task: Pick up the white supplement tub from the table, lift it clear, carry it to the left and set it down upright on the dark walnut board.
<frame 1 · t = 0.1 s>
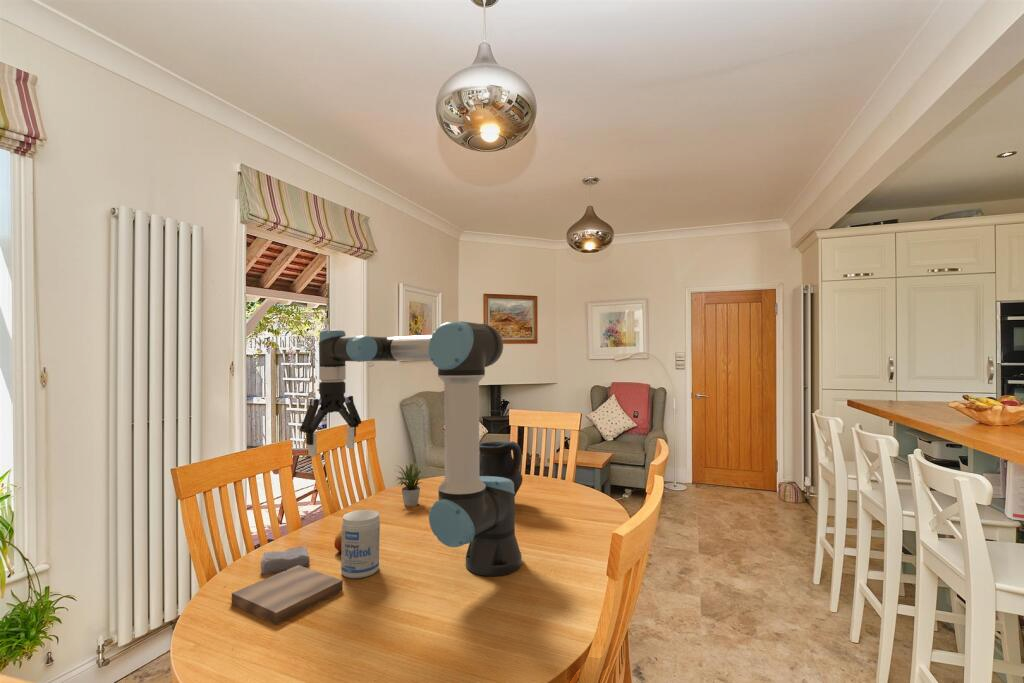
hand: (332, 451, 144), 28 cm above the table, tool pointing down, fingers open, 13 cm apart
stone block: (285, 565, 131), on the table
supplement tub: (360, 572, 125), on the table
house plant: (409, 504, 184), on the table
fruit: (349, 551, 139), on the table
walnut board: (288, 597, 112), on the table
pitcher: (497, 507, 178), on the table
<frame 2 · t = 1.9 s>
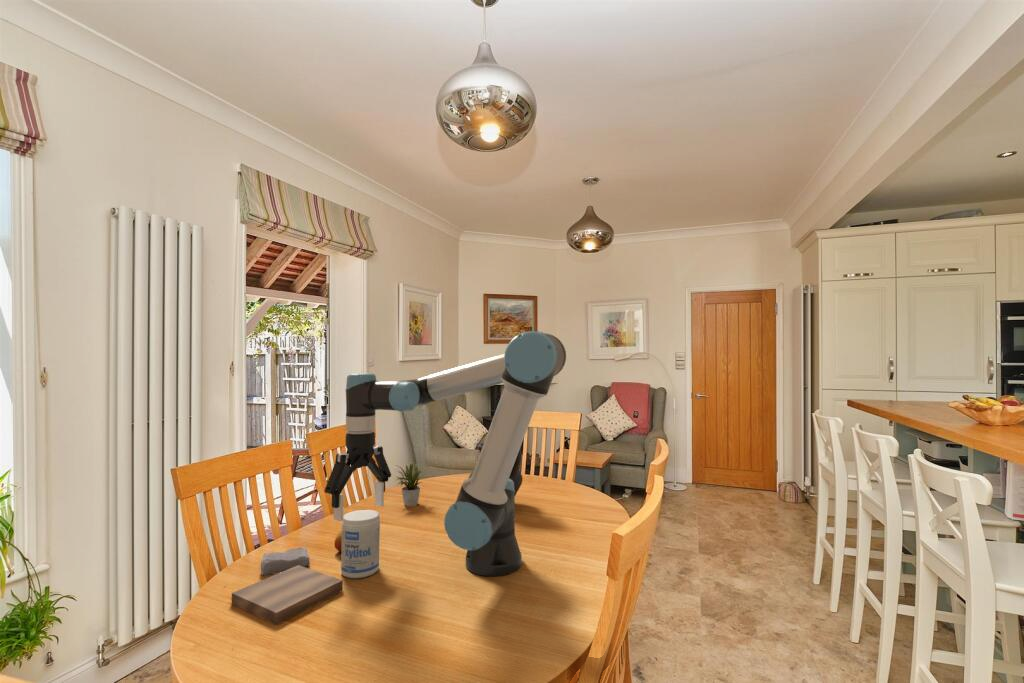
hand: (359, 512, 126), 15 cm above the table, tool pointing down, fingers open, 13 cm apart
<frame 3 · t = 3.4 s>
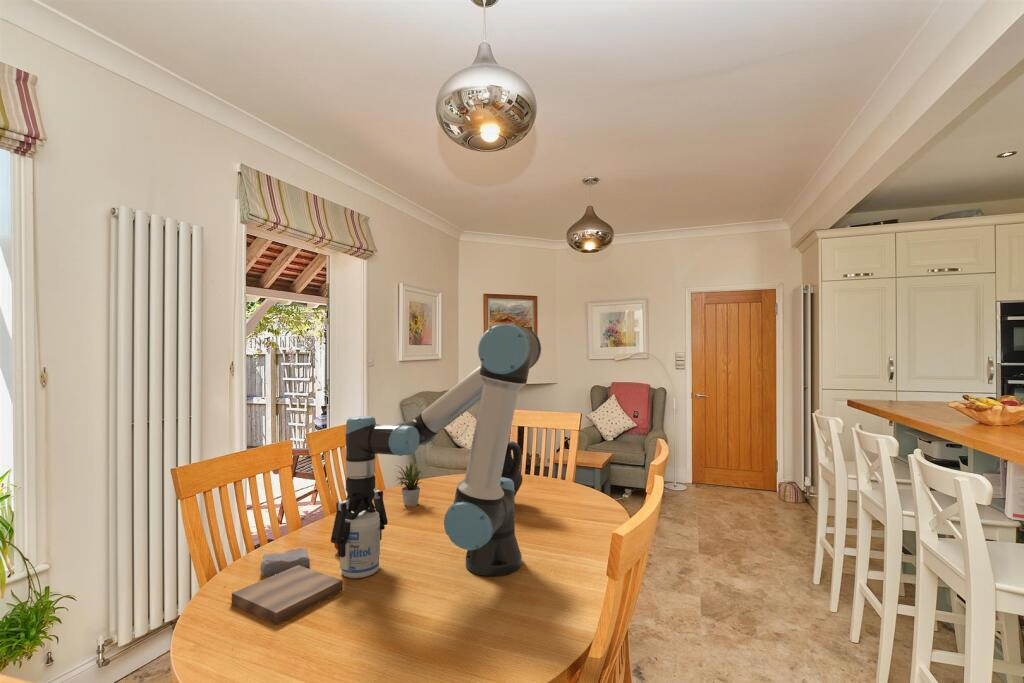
hand: (360, 561, 125), 3 cm above the table, tool pointing down, fingers closed on supplement tub, 10 cm apart
supplement tub: (360, 572, 125), on the table, touching gripper
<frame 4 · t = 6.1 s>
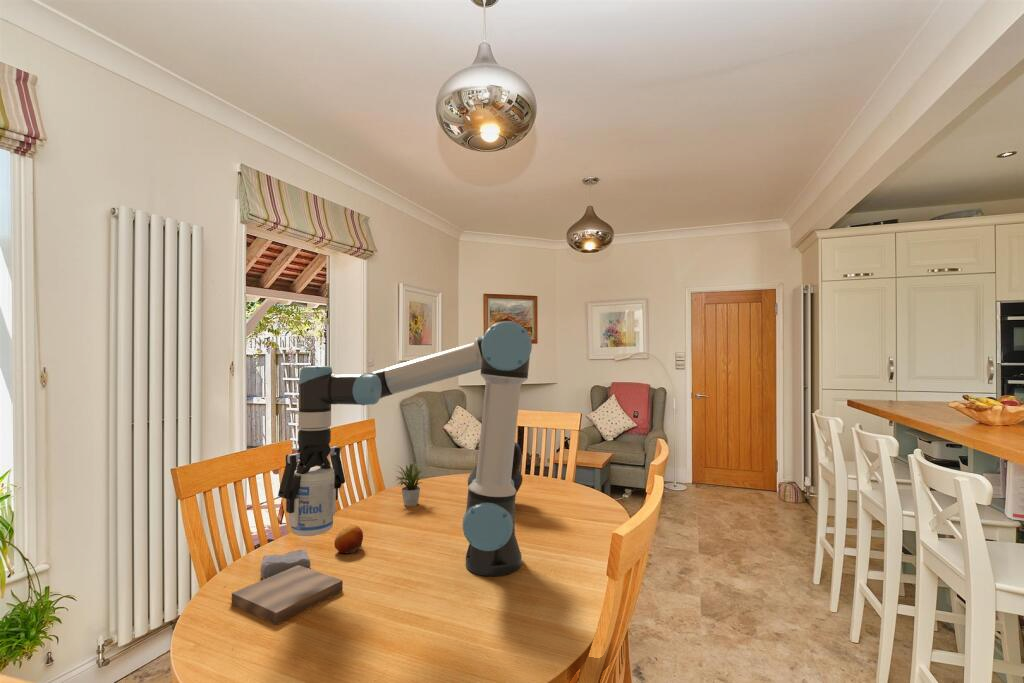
hand: (312, 519, 117), 16 cm above the table, tool pointing down, fingers closed on supplement tub, 10 cm apart
stone block: (285, 569, 128), on the table
supplement tub: (312, 531, 117), point 14 cm above the table, touching gripper
everything else where it was.
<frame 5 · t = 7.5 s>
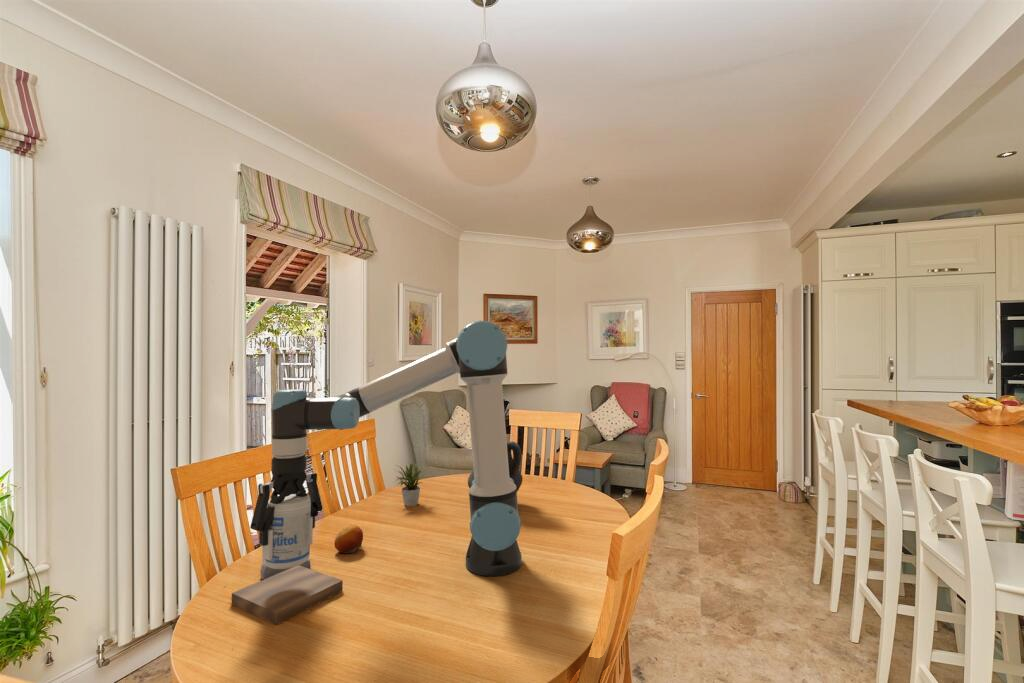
hand: (288, 550, 112), 11 cm above the table, tool pointing down, fingers closed on supplement tub, 10 cm apart
supplement tub: (288, 562, 112), point 8 cm above the table, touching gripper
when the fingers open (7 cm above the table, at t = 8.7 s): supplement tub drops 1 cm, resting on walnut board.
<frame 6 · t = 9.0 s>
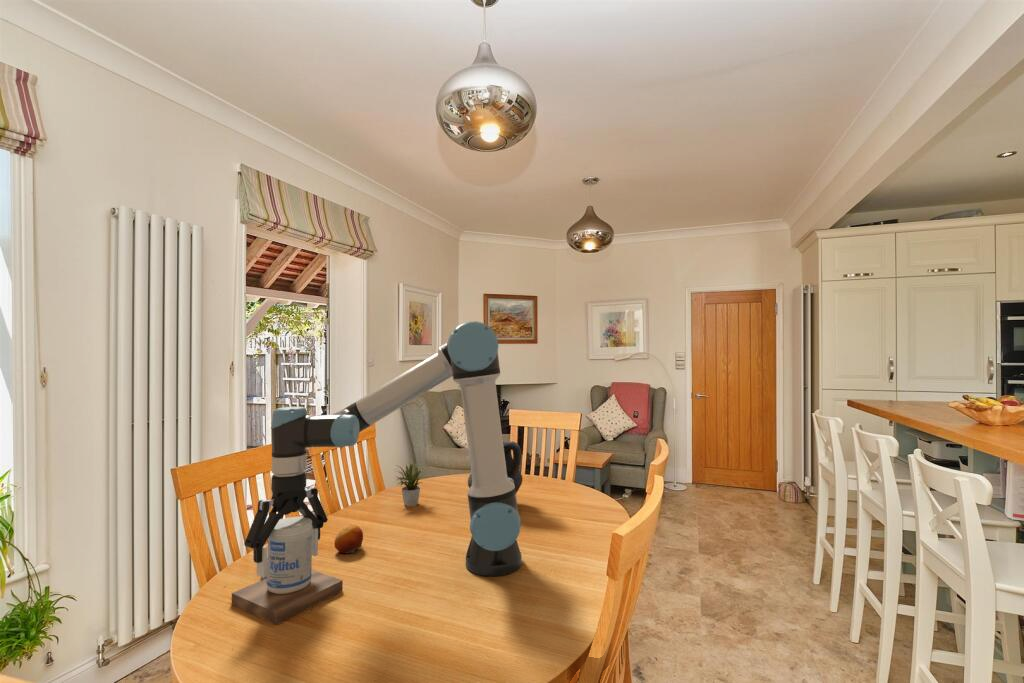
hand: (288, 564, 112), 8 cm above the table, tool pointing down, fingers open, 12 cm apart
supplement tub: (289, 586, 112), point 2 cm above the table, touching walnut board
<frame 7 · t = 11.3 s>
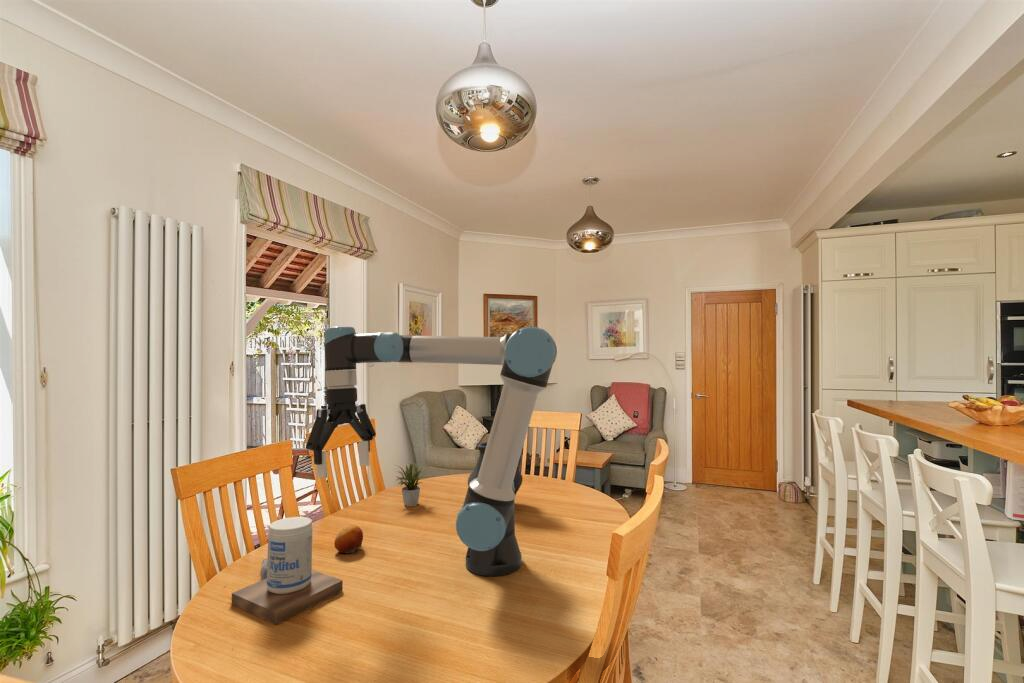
hand: (344, 471, 121), 27 cm above the table, tool pointing down, fingers open, 13 cm apart
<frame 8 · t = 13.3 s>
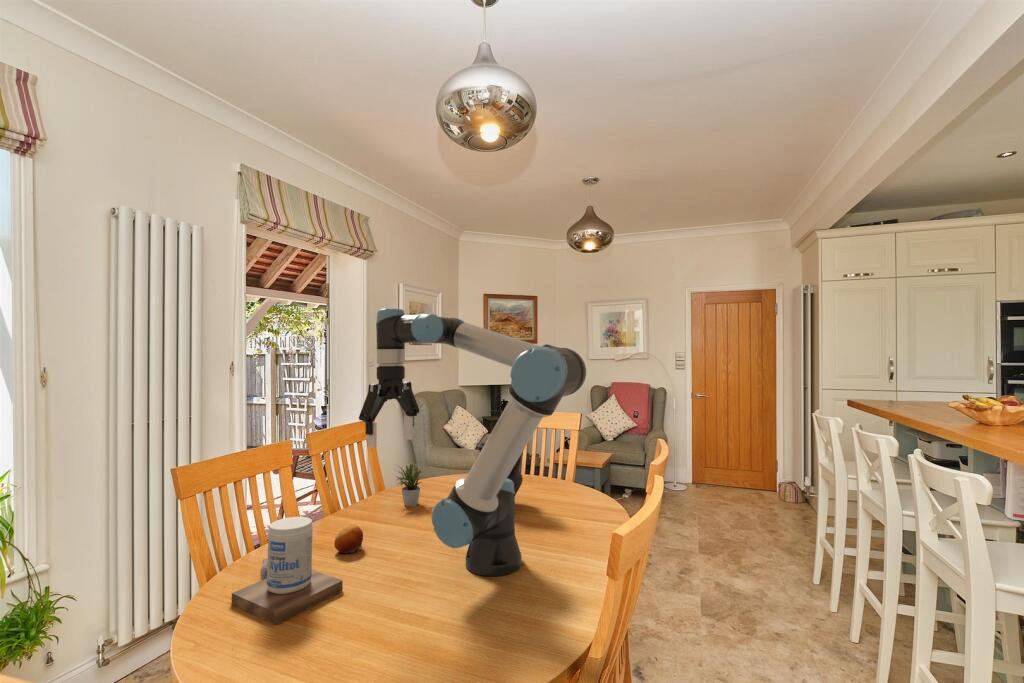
hand: (390, 443, 130), 33 cm above the table, tool pointing down, fingers open, 13 cm apart
at the end: supplement tub inside the target area on the walnut board (0.4 cm from its centre), point 2.3 cm above the walnut board's base; supplement tub tilted 0°; the gripper is holding nothing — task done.
